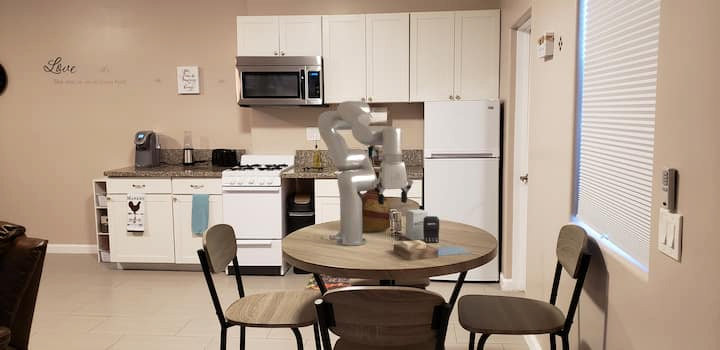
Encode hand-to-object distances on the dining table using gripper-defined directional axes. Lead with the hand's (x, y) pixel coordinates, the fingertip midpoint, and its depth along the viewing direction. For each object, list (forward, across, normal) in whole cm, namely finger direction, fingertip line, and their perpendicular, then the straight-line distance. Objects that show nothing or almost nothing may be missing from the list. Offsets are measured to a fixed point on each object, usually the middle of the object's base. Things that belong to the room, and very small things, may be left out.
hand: (392, 203), depth 212 cm
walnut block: (+21, +10, 0) cm, 23 cm away
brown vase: (+21, +12, +50) cm, 56 cm away
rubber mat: (+21, +24, 0) cm, 32 cm away
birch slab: (+17, +9, 0) cm, 19 cm away
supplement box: (+21, +24, +26) cm, 41 cm away
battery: (+21, +26, +16) cm, 37 cm away
